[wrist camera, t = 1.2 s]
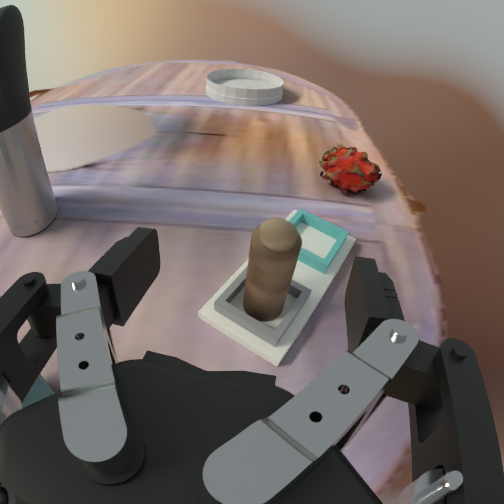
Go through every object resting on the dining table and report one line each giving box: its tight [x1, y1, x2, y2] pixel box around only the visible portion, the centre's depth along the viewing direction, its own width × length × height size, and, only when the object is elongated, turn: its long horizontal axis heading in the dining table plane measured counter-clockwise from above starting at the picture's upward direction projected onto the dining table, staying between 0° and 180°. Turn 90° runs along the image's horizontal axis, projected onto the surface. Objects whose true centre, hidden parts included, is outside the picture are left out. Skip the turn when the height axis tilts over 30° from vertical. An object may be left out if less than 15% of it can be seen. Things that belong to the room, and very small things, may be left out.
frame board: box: [198, 209, 356, 366], centre depth 39 cm, size 22×10×3 cm, turn 147°
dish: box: [206, 69, 284, 106], centre depth 84 cm, size 22×22×5 cm
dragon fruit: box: [320, 145, 382, 194], centre depth 53 cm, size 8×8×12 cm
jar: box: [243, 218, 302, 322], centre depth 31 cm, size 4×4×11 cm
